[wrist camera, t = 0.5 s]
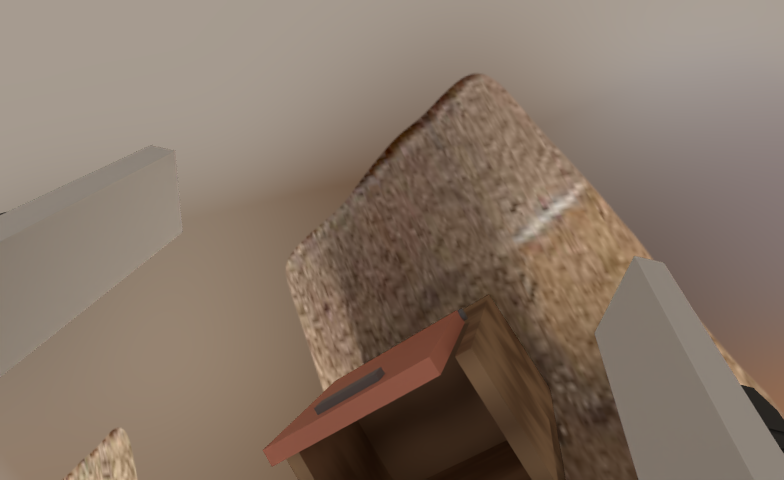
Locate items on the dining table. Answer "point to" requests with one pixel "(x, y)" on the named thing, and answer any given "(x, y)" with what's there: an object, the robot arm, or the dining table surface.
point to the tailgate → (371, 387)
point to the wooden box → (454, 420)
